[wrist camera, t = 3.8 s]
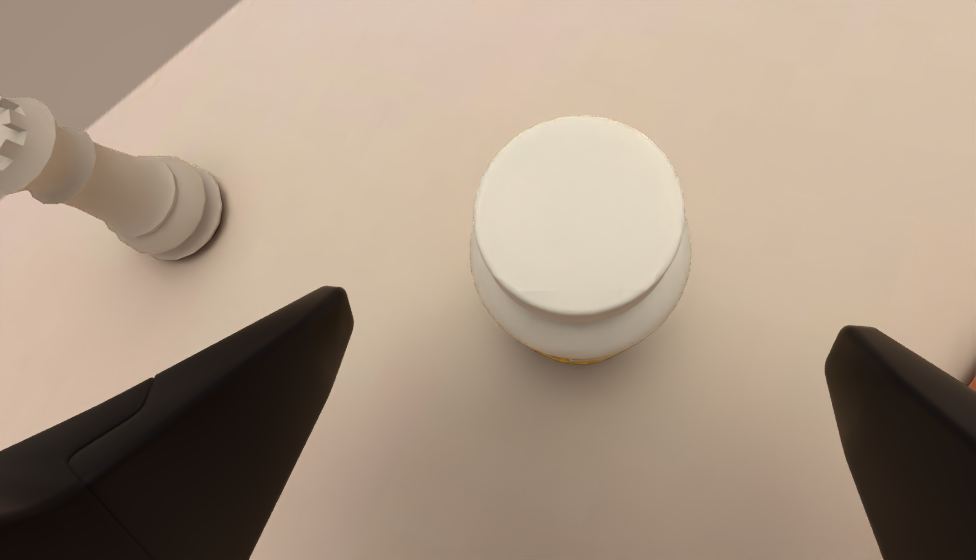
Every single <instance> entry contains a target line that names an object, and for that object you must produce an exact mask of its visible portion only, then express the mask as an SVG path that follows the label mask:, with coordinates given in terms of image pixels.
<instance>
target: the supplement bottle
mask: <svg viewBox="0 0 976 560" xmlns="http://www.w3.org/2000/svg"><path fill="white" fill-rule="evenodd" d="M473 222H474V224H473V229H472V233H471V240H470V264H471V272H472V276H473V280H474V284H475V287H476V289H477V292H478V294H479V297H480V298H481V300H482V302H483V304H484V306H485V307H486V309H487V311H488V312H489V313H490V315H491V316H492V317H493V319H494V320H495V321H496V322H497V323H498V324H499V325H500V326H501V327H502V328H503V329H504V330H505V331H506V332H507V333H509V334H510V335H511V336H512V337H514V338H515V339H516V340H518V341H519V342H521V343H522V344H524V345H525V346H527V347H529V348H531V349H533V350H534V351H537V352H539V353H541V354H543V355H544V356H547V357H549V358H552V359H555V360H557V361H560V362H564V363H569V364H591V363H596V362H599V361H602V360H605V359H608V358H610V357H613V356H615V355H617V354H619V353H621V352H622V351H624V350H626V349H628V348H630V347H632V346H634V345H635V344H637V343H639V342H641V341H642V340H644V339H645V338H646V337H647V336H649V335H650V334H651V333H653V332H654V331H655V330H656V329H657V328H658V327H659V326H660V325H661V324H662V323H663V322H664V321H665V320H666V318H667V317H668V316H669V315H670V313H671V312H672V311H673V309H674V308H675V306H676V304H677V303H678V301H679V299H680V297H681V295H682V293H683V290H684V288H685V285H686V282H687V279H688V275H689V271H690V264H691V239H690V232H689V228H688V224H687V220H686V217H685V202H684V196H683V190H682V187H681V183H680V181H679V178H678V176H677V174H676V172H675V170H674V168H673V166H672V164H671V163H670V161H669V160H668V158H667V157H666V155H665V154H664V153H663V152H662V150H661V149H660V148H659V147H658V146H657V145H656V144H655V143H654V142H652V141H651V140H650V139H649V138H647V137H646V136H645V135H643V134H642V133H641V132H639V131H637V130H636V129H634V128H632V127H630V126H628V125H625V124H623V123H620V122H617V121H615V120H611V119H607V118H602V117H597V116H580V115H579V116H567V117H561V118H555V119H552V120H549V121H546V122H543V123H540V124H538V125H536V126H533V127H531V128H529V129H528V130H526V131H524V132H522V133H521V134H519V135H518V136H516V137H515V138H514V139H512V140H511V141H510V142H509V143H508V144H507V145H506V146H505V147H504V148H503V149H502V150H501V151H500V152H499V153H498V154H497V155H496V156H495V157H494V159H493V160H492V161H491V163H490V164H489V166H488V167H487V169H486V171H485V173H484V175H483V177H482V179H481V181H480V184H479V187H478V190H477V194H476V198H475V203H474V216H473Z"/></svg>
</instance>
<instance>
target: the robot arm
mask: <svg viewBox="0 0 976 560" xmlns="http://www.w3.org/2000/svg"><path fill="white" fill-rule="evenodd" d="M353 326H354V320H353V315H352V312H351V308H350V304H349V301H348V297H347V294H346V291H345V290H344V289H343V288H341V287H332V286H323V287H321V288H319V289H317V290H315V291H313V292H311V293H309V294H307V295H305V296H304V297H302V298H300V299H298V300H296V301H294V302H292V303H290V304H289V305H287V306H285V307H283V308H281V309H279V310H277V311H275V312H273V313H272V314H270V315H268V316H266V317H264V318H262V319H260V320H258V321H257V322H255V323H253V324H251V325H249V326H247V327H245V328H243V329H241V330H240V331H238V332H236V333H234V334H232V335H230V336H228V337H226V338H225V339H223V340H221V341H219V342H217V343H215V344H213V345H211V346H209V347H208V348H206V349H204V350H202V351H200V352H198V353H196V354H194V355H193V356H191V357H189V358H187V359H185V360H183V361H181V362H179V363H177V364H176V365H174V366H172V367H170V368H168V369H166V370H164V371H162V372H161V373H159V374H157V375H156V376H155V378H149V379H147V380H145V381H143V382H142V383H140V384H138V385H136V386H134V387H132V388H130V389H128V390H126V391H125V392H123V393H121V394H119V395H117V396H115V397H113V398H111V399H109V400H107V401H105V402H103V403H101V404H99V405H97V406H95V407H93V408H91V409H89V410H87V411H85V412H83V413H81V414H78V415H76V416H74V417H72V418H70V419H68V420H66V421H64V422H62V423H60V424H57V425H55V426H53V427H51V428H49V429H47V430H45V431H42V432H40V433H38V434H36V435H34V436H32V437H30V438H27V439H25V440H23V441H21V442H19V443H17V444H15V445H12V446H10V447H8V448H6V449H4V450H2V451H0V560H249V558H250V556H251V554H252V552H253V550H254V548H255V546H256V544H257V542H258V540H259V538H260V536H261V534H262V532H263V530H264V527H265V525H266V523H267V521H268V519H269V517H270V515H271V513H272V511H273V509H274V507H275V505H276V503H277V501H278V499H279V497H280V495H281V493H282V491H283V489H284V487H285V485H286V483H287V481H288V478H289V476H290V474H291V472H292V470H293V468H294V466H295V464H296V462H297V460H298V458H299V456H300V454H301V452H302V450H303V448H304V446H305V444H306V442H307V440H308V438H309V436H310V434H311V432H312V430H313V427H314V425H315V423H316V421H317V419H318V417H319V415H320V413H321V411H322V409H323V407H324V405H325V403H326V401H327V399H328V396H329V394H330V392H331V389H332V387H333V384H334V381H335V379H336V376H337V373H338V370H339V367H340V365H341V362H342V359H343V356H344V353H345V351H346V348H347V345H348V342H349V339H350V337H351V334H352V331H353ZM825 376H826V380H827V384H828V389H829V393H830V397H831V401H832V405H833V410H834V414H835V418H836V422H837V426H838V430H839V435H840V439H841V443H842V446H843V450H844V454H845V457H846V460H847V463H848V466H849V468H850V471H851V474H852V477H853V479H854V482H855V485H856V487H857V490H858V493H859V495H860V498H861V501H862V503H863V506H864V509H865V511H866V514H867V517H868V519H869V522H870V525H871V527H872V530H873V533H874V535H875V538H876V541H877V543H878V546H879V549H880V551H881V554H882V557H883V559H884V560H976V391H974V390H973V389H971V388H970V387H968V386H967V385H965V384H963V383H962V382H960V381H959V380H957V379H955V378H954V377H952V376H951V375H949V374H947V373H946V372H944V371H943V370H941V369H939V368H938V367H936V366H935V365H933V364H932V363H930V362H928V361H927V360H925V359H924V358H922V357H920V356H919V355H917V354H916V353H914V352H912V351H911V350H909V349H908V348H906V347H905V346H903V345H901V344H900V343H898V342H897V341H895V340H893V339H892V338H890V337H889V336H887V335H885V334H884V333H882V332H881V331H879V330H878V329H876V328H873V327H866V326H852V325H848V326H845V327H843V328H842V329H841V330H840V332H839V334H838V336H837V338H836V340H835V342H834V344H833V346H832V349H831V351H830V353H829V355H828V357H827V359H826V362H825Z"/></svg>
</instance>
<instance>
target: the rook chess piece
mask: <svg viewBox="0 0 976 560" xmlns="http://www.w3.org/2000/svg"><path fill="white" fill-rule="evenodd" d="M24 190H28V191H30V193H31V195H32V197H33V198H35V199H37V200H38V201H40V202H42V203H43V204H59V203H63V204H66V205H69V206H72V207H75V208H78V209H80V210H82V211H84V212H86V213H88V214H90V215H92V216H94V217H96V218H98V219H100V220H102V221H104V222H105V223H106V225H107V227H108V228H109V229H110V230H111V231H113V232H115V233H116V235H117V236H118V238H119V240H120V241H122V242H123V243H125V244H126V245H128V246H130V247H131V248H133V249H135V250H136V251H138V252H140V253H148V254H149V255H151V256H153V257H154V258H156V259H161V260H177V259H180V258H182V257H185V256H188V255H191V254H193V253H194V252H196V251H198V250H199V249H200V248H201V247H202V246H204V245H205V244H206V243H207V242H208V241H209V240H210V239H211V238H212V236H213V235H214V233H215V231H216V230H217V228H218V226H219V224H220V219H221V214H222V203H221V198H220V192H219V187H218V185H217V183H216V182H215V180H214V179H213V178H212V176H211V175H210V173H209V172H207V171H205V170H204V169H202V168H200V167H198V166H196V165H191V164H189V163H187V162H185V161H183V160H181V159H179V158H176V157H171V156H137V157H135V156H131V155H128V154H125V153H122V152H119V151H116V150H113V149H110V148H107V147H104V146H101V145H99V144H97V143H95V142H93V141H92V140H91V138H90V137H89V135H88V134H87V133H86V132H84V131H82V130H81V129H79V128H77V127H59V126H58V125H57V123H56V121H55V119H54V118H53V116H52V114H51V113H50V111H49V109H48V108H47V106H46V105H45V104H43V103H41V102H39V101H37V100H36V99H34V98H10V99H6V98H4V97H2V96H0V195H8V194H12V193H16V192H20V191H24Z"/></svg>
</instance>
